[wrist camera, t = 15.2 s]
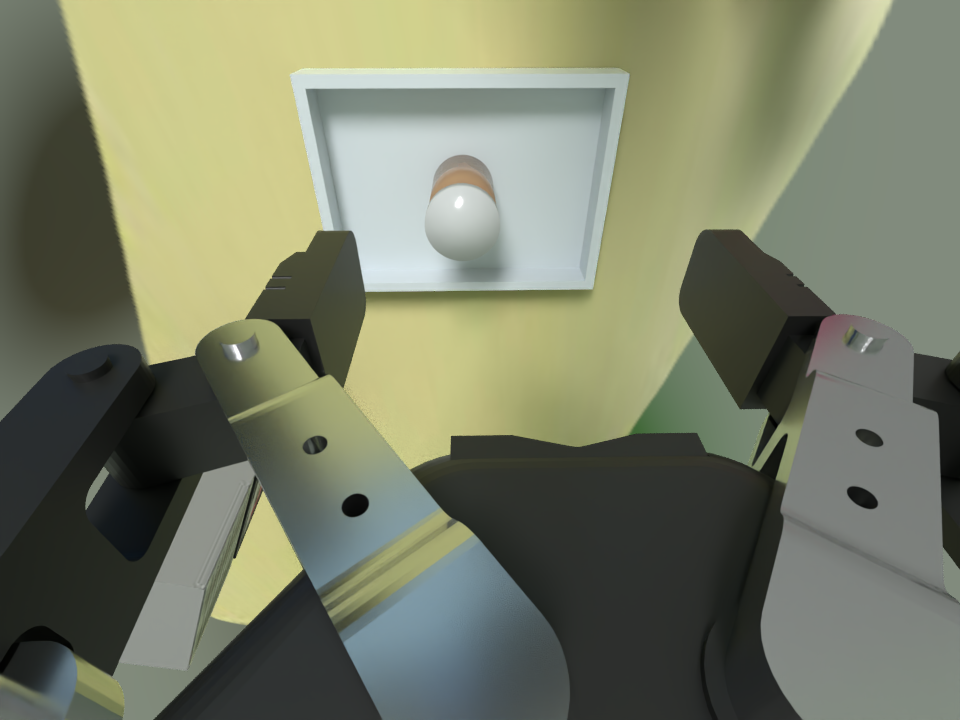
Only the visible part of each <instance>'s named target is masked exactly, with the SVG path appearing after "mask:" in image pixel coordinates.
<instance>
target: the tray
mask: <svg viewBox="0 0 960 720" xmlns="http://www.w3.org/2000/svg"><path fill="white" fill-rule="evenodd" d="M629 76H630V74H629V73H628V72H626V71H624V70H622V69H620V68H302V69H300V70H298V71H296V72H294V73H292V74H290V78H291V82H292V87H293V91H294V96H295V101H296V105H297V110H298V115H299V119H300V124H301V128H302V133H303V138H304V142H305V147H306V152H307V156H308V161H309V165H310V170H311V175H312V179H313V184H314V189H315V193H316V198H317V202H318V207H319V212H320V216H321V221H322V226H323V230H324V231H352V232H353V233H354V236H355V239H356V244H357V249H358V255H359V260H360V266H361V272H362V277H363V283H364V288H365V292H387V291H478V290H570V289H593V285H594V280H595V274H596V268H597V262H598V256H599V251H600V245H601V239H602V233H603V227H604V222H605V216H606V210H607V204H608V198H609V192H610V187H611V181H612V175H613V169H614V163H615V158H616V152H617V146H618V140H619V134H620V128H621V123H622V117H623V111H624V105H625V99H626V94H627V88H628V82H629ZM456 155H469V156H472V157H475V158H477V159H479V160H480V161H482V162H483V163H484V164H485V165H486V167H487V168H488V169H489V171H490V173H491V176H492V179H493V186H494V193H495V200H496V206H497V208H498V212H499V218H500V232H499V236H498V239H497V241H496V243H495V244H494V246H493V247H492V248H491V249H490V250H489V251H488V252H487V253H486V254H484V255H483V256H481V257H479V258H477V259H474V260H469V261H457V260H452V259H449V258H447V257H444V256H443V255H441V254H440V253H438V252H437V251H436V250H435V249H434V248H433V247H432V245H431V244H430V242H429V241H428V238H427V236H426V232H425V215H426V210H427V207H428V204H429V201H430V195H431V190H432V184H433V178H434V175H435V172H436V170H437V169H438V167H439V166H440V165H441V164H442V163H443V162H444V161H445V160H446V159H448V158H450V157H453V156H456Z"/></svg>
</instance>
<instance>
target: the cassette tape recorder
mask: <svg viewBox="0 0 960 720" xmlns="http://www.w3.org/2000/svg"><path fill="white" fill-rule="evenodd" d="M262 492H263V489H262V487H261V485H260V483H259V481H258V479H257V477H256V475H255V473H254V471H253V469H252V467H251V465H250V463H249V462H248V461H245V462H241V463H237V464H233V465H230V466H226V467H222V468H219V469H215V470H211V471H208V472H204V473H203V474H202V477H201V479H200V481H199V483H198V486H197V488H196V490H195V492H194V494H193V497H192V499H191V501H190V503H189V506H188V508H187V510H186V512H185V515H184V517H183V519H182V521H181V524H180V526H179V528H178V530H177V533H176V535H175V537H174V539H173V541H172V544H171V546H170V548H169V550H168V553H167V555H166V557H165V559H164V562H163V564H162V566H161V568H160V571H159V573H158V575H157V577H156V580H155V582H154V584H153V586H152V589H151V591H150V593H149V595H148V597H147V600H146V602H145V604H144V606H143V609H142V611H141V613H140V615H139V618H138V620H137V622H136V624H135V627H134V629H133V631H132V633H131V636H130V638H129V640H128V642H127V644H126V647H125V649H124V651H123V653H122V656H121V658H120V660H119V662H118V663H127V664H136V665H143V666H151V667H160V668H168V669H176V670H185V671H187V670H188V668H189V667H190V665H191V662H192V660H193V657H194V655H195V652H196V650H197V647H198V645H199V643H200V640H201V638H202V635H203V633H204V630H205V628H206V626H207V623H208V621H209V618H210V616H211V613H212V611H213V608H214V606H215V603H216V601H217V598H218V596H219V594H220V591H221V589H222V586H223V584H224V581H225V579H226V576H227V574H228V571H229V569H230V566H231V563H232V560H233V558H236V556H237V553H238V551H239V548H240V546H241V544H242V541H243V539H244V536H245V534H246V531H247V529H248V526H249V524H250V521H251V519H252V516H253V514H254V511H255V509H256V506H257V504H258V501H259V499H260V497H261V494H262Z"/></svg>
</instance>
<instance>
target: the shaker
mask: <svg viewBox="0 0 960 720" xmlns="http://www.w3.org/2000/svg"><path fill="white" fill-rule="evenodd" d="M425 232H426V236H427V238H428V241H429V242H430V244H431V245H432V247H433V248H434V249H435V250H436V251H437V252H438V253H440V254H441V255H443V256H444V257H447V258H449V259H452V260H457V261H469V260H474V259H477V258H479V257H481V256H483V255H484V254H486V253H487V252H488V251H489V250H490V249H491V248H492V247H493V246H494V244H495V243H496V241H497V239H498V236H499V232H500V218H499V212H498V208H497V206H496V200H495V193H494V186H493V179H492V176H491V173H490V171H489V169H488V168H487V167H486V165H485V164H484V163H483V162H482V161H480V160H479V159H477V158H475V157H472V156H469V155H456V156H453V157H450V158H448V159H446V160H445V161H444V162H443V163H442V164H441V165H440V166H439V167H438V169H437V170H436V172H435V175H434V178H433V184H432V190H431V195H430V201H429V204H428V207H427V210H426V215H425Z"/></svg>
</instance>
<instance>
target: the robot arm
mask: <svg viewBox="0 0 960 720" xmlns="http://www.w3.org/2000/svg"><path fill="white" fill-rule="evenodd" d="M679 306H680V311H681V314H682V316H683V317H684V319H685V320H686V322H687V324H688V325H689V327H690V329H691V330H692V332H693V333H694V335H695V337H696V338H697V340H698V341H699V343H700V345H701V346H702V348H703V350H704V351H705V353H706V355H707V356H708V358H709V360H710V361H711V363H712V364H713V366H714V368H715V369H716V371H717V373H718V374H719V376H720V377H721V379H722V381H723V382H724V384H725V386H726V387H727V389H728V390H729V392H730V394H731V395H732V397H733V399H734V400H735V402H736V403H737V405H738V407H739V408H740V409H767V410H768V411H769V413H768V415H767V417H766V418H765V420H764V422H763V423H762V425H761V429H760V431H759V434H758V437H757V440H756V442H755V445H754V448H753V451H752V454H751V456H750V459H749V462H748V465H744V464H743V463H740V462H737V461H735V460H732V459H729V458H726V457H722V456H719V455H715V454H712V453H707V452H706V451H705V449H704V447H703V445H702V443H701V440H700V438H699V436H698V434H697V433H656V434H655V433H654V434H651V433H650V434H633V435H629V436H625V437H621V438H617V439H612V440H608V441H604V442H600V443H595V444H591V445H587V446H582V447H572V446H566V445H561V444H555V443H550V442H545V441H540V440H534V439H529V438H524V437H519V436H513V435H492V436H451V454H450V455H446V456H442V457H439V458H436V459H433V460H430V461H427V462H425V463H423V464H421V465H418V466H416V467H414V468H412V469H411V470H409V469H408V467H407V466H406V465H405V464H404V463H403V461H402V460H401V459H400V458H399V456H398V455H397V454H396V453H395V452H394V450H393V449H392V448H391V447H390V445H389V444H388V443H387V442H386V441H385V439H384V438H383V437H382V436H381V435H380V433H379V432H378V431H377V430H376V428H375V427H374V426H373V425H372V424H371V422H370V421H369V420H368V419H367V417H366V416H365V415H364V414H363V413H362V411H361V410H360V409H359V408H358V406H357V405H356V404H355V403H354V402H353V400H352V399H351V398H350V397H349V395H348V394H347V393H346V392H345V391H344V389H343V388H344V384H345V381H346V378H347V374H348V371H349V367H350V364H351V361H352V357H353V354H354V350H355V347H356V343H357V340H358V337H359V333H360V330H361V326H362V323H363V320H364V316H365V309H366V297H365V288H364V283H363V277H362V272H361V266H360V260H359V255H358V249H357V244H356V239H355V236H354V233H353V232H352V231H317V233H316V235H315V236H314V238H313V240H312V242H311V243H310V245H309V247H308V249H307V251H306V252H296V253H294V254H293V255H291V256H290V257H289V258H287V259H286V260H284V261H283V262H281V263H280V264H279V266H278V267H277V269H276V271H275V272H274V274H273V275H272V279H270V280H269V282H268V283H267V285H266V290H263V291H262V293H261V295H260V296H259V298H258V299H257V301H256V303H255V304H254V306H253V307H252V309H251V310H250V312H249V314H248V315H247V317H246V318H245V320H240V321H235V322H232V323H228V324H226V325H223V326H221V327H219V328H217V329H215V330H213V331H211V332H210V333H208V334H207V335H206V336H205V337H204V338H203V339H202V340H201V341H200V342H199V343H198V345H197V347H196V350H195V355H196V356H191V357H187V358H182V359H178V360H173V361H168V362H163V363H158V364H153V365H149V366H148V365H147V363H146V361H145V360H144V358H143V357H142V355H141V353H140V352H139V350H138V349H136V348H134V347H132V346H129V345H122V344H112V345H103V346H98V347H95V348H90V349H87V350H84V351H81V352H79V353H76V354H74V355H72V356H70V357H68V358H66V359H64V360H62V361H61V362H59V363H58V364H56V365H55V366H54V367H52V368H51V369H50V370H49V371H48V372H47V373H46V374H45V375H44V376H43V377H42V378H41V379H40V380H39V381H38V382H37V383H36V384H35V385H34V386H33V387H32V389H31V390H30V391H29V392H28V393H27V394H26V395H25V396H24V397H23V398H22V399H21V400H20V401H19V403H18V404H17V405H15V407H14V408H13V409H12V410H11V411H10V412H9V413H8V414H7V415H6V416H5V417H4V418H3V419H2V420H1V422H0V720H122V719H123V714H124V696H123V692H122V689H121V687H120V685H119V683H118V682H117V681H116V680H115V679H114V678H113V677H112V676H113V674H114V671H115V669H116V667H117V665H118V662H119V660H120V658H121V656H122V653H123V651H124V649H125V647H126V644H127V642H128V640H129V638H130V636H131V633H132V631H133V629H134V627H135V624H136V622H137V620H138V618H139V615H140V613H141V611H142V609H143V606H144V604H145V602H146V600H147V597H148V595H149V593H150V591H151V589H152V586H153V584H154V582H155V580H156V577H157V575H158V573H159V571H160V568H161V566H162V564H163V562H164V559H165V557H166V555H167V553H168V550H169V548H170V546H171V544H172V541H173V539H174V537H175V535H176V533H177V530H178V528H179V526H180V524H181V521H182V519H183V517H184V515H185V512H186V510H187V508H188V506H189V503H190V501H191V499H192V497H193V494H194V492H195V490H196V488H197V486H198V483H199V481H200V479H201V477H202V474H203V473H204V472H208V471H211V470H215V469H219V468H222V467H226V466H230V465H233V464H237V463H241V462H245V461H248V462H249V463H250V465H251V467H252V469H253V471H254V473H255V475H256V477H257V479H258V481H259V483H260V485H261V487H262V489H263V491H264V493H265V495H266V497H267V499H268V501H269V503H270V505H271V507H272V508H273V510H274V512H275V514H276V516H277V518H278V520H279V522H280V524H281V526H282V528H283V530H284V532H285V534H286V536H287V538H288V540H289V542H290V544H291V546H292V548H293V550H294V552H295V554H296V556H297V558H298V560H299V562H300V563H301V565H302V567H303V570H302V571H301V572H300V573H299V574H298V575H297V576H296V577H295V578H294V579H293V580H292V581H291V582H290V583H289V584H288V585H287V586H286V587H285V588H284V589H283V590H282V591H281V592H280V593H279V594H278V595H277V596H276V597H275V598H274V599H273V600H272V601H271V602H270V603H269V604H268V605H267V606H266V607H265V608H264V609H263V610H262V611H261V612H260V613H259V614H258V615H257V616H256V617H255V618H254V619H253V620H252V621H251V622H250V623H249V624H248V625H247V626H246V628H245V629H243V630H242V631H241V632H240V634H239V635H237V636H236V638H235V639H234V640H233V641H231V642H230V644H229V645H227V646H226V647H225V648H224V650H223V651H221V653H220V654H219V655H218V656H217V657H216V658H215V659H214V660H213V661H212V662H211V663H210V664H209V665H208V666H207V667H206V668H205V669H204V670H203V671H202V672H201V673H200V674H199V675H198V676H197V677H196V678H195V679H194V680H193V681H192V682H191V683H190V684H189V685H188V686H187V687H186V688H185V689H184V690H183V691H182V692H181V693H180V694H179V695H178V696H177V697H176V698H175V699H174V700H173V701H172V702H171V703H170V704H169V705H168V706H167V707H166V708H165V709H164V710H163V711H162V712H161V713H160V714H159V715H158V716H157V717H156V718H155V719H154V720H960V603H959V602H958V601H957V600H956V599H955V598H953V597H952V596H951V595H949V593H948V592H947V591H946V588H945V585H944V577H943V576H944V574H943V548H944V549H945V550H946V552H947V553H948V554H949V556H950V557H951V558H952V559H953V561H954V562H955V564H956V565H957V566H958V568H959V569H960V352H959V353H958V354H957V355H956V356H955V357H954V359H953V360H950V359H944V358H939V357H933V356H927V355H922V354H916V353H914V349H913V346H912V344H911V343H910V342H909V341H908V339H907V338H906V337H904V336H903V335H902V334H900V333H899V332H898V331H896V330H894V329H893V328H891V327H889V326H887V325H885V324H882V323H880V322H877V321H875V320H872V319H869V318H865V317H861V316H855V315H847V314H846V315H844V314H839V315H836V314H835V313H834V312H833V311H832V310H831V309H830V308H829V307H828V306H827V305H826V304H825V303H824V302H823V301H822V300H821V299H820V298H818V297H817V296H816V295H815V294H814V293H813V292H812V291H811V290H810V289H809V288H808V287H804V283H803V282H802V281H801V280H799V279H798V278H797V277H795V276H793V273H792V272H791V271H790V270H789V269H788V268H787V267H786V266H784V264H783V263H781V262H780V261H779V260H777V259H775V258H773V257H771V256H769V255H767V254H765V253H764V252H763V251H762V250H761V249H760V248H758V247H757V246H756V245H755V244H754V243H753V242H752V241H751V240H750V239H749V238H748V237H747V236H746V235H745V234H744V233H743V232H742V231H741V230H704V231H702V232H701V233H700V235H699V236H698V238H697V240H696V243H695V246H694V249H693V252H692V255H691V258H690V261H689V264H688V267H687V271H686V274H685V277H684V280H683V283H682V286H681V289H680V294H679ZM103 466H104V467H105V468H106V469H107V471H108V472H109V475H108V476H107V478H106V479H105V481H104V483H103V484H102V486H101V487H100V489H99V491H98V492H97V494H96V495H95V497H94V498H93V500H92V502H91V503H90V505H89V506H88V508H87V510H85V502H86V497H87V493H88V491H89V488H90V487H91V485H92V483H93V481H94V480H95V479H96V477H97V476H98V474H99V473H100V471H101V469H102V468H103Z"/></svg>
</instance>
